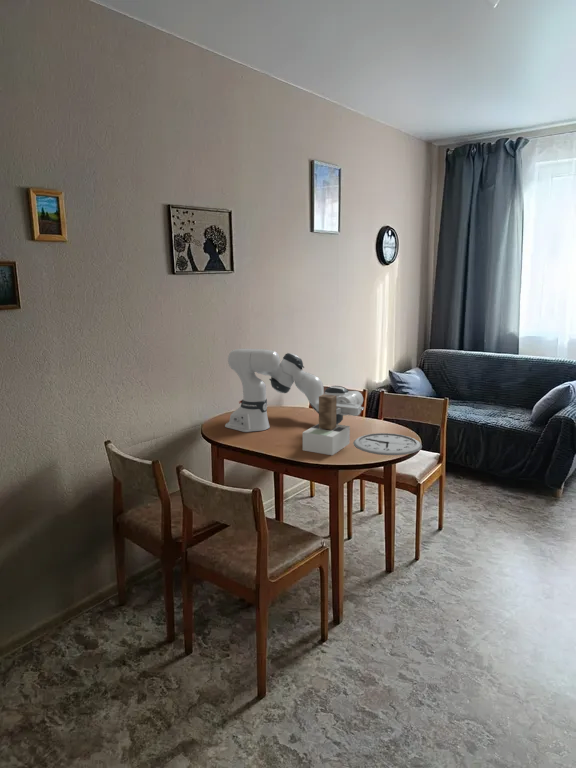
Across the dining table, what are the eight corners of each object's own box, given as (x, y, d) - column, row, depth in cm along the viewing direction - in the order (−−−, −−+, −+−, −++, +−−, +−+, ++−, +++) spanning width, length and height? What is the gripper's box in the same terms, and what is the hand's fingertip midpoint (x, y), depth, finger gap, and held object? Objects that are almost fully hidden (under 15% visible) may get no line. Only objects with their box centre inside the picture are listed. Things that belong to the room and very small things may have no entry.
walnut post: (318, 428, 231) (318, 396, 228) (323, 425, 236) (323, 394, 233) (331, 429, 228) (331, 397, 226) (336, 426, 233) (336, 395, 230)
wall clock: (436, 447, 227) (374, 456, 217) (436, 451, 227) (374, 460, 217) (398, 428, 254) (341, 436, 244) (398, 432, 255) (341, 439, 244)
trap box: (302, 450, 229) (302, 432, 227) (321, 439, 244) (321, 421, 242) (332, 455, 222) (332, 436, 220) (349, 443, 237) (349, 425, 235)
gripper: (365, 414, 240) (353, 422, 228) (324, 409, 250) (310, 416, 238) (365, 400, 239) (353, 407, 227) (324, 396, 249) (310, 402, 237)
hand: (331, 412), depth 233 cm, fingers closed, pressing on walnut post
